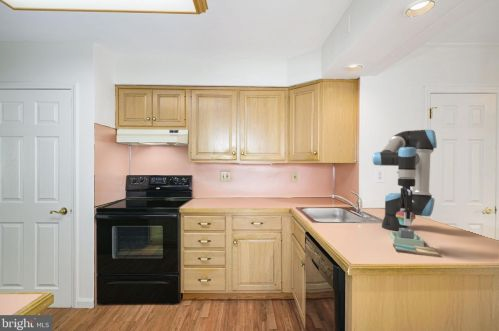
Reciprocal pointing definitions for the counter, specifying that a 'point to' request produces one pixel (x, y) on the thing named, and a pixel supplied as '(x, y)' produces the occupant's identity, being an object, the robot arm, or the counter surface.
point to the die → (406, 233)
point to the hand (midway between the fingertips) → (405, 223)
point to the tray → (416, 241)
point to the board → (416, 250)
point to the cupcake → (401, 217)
